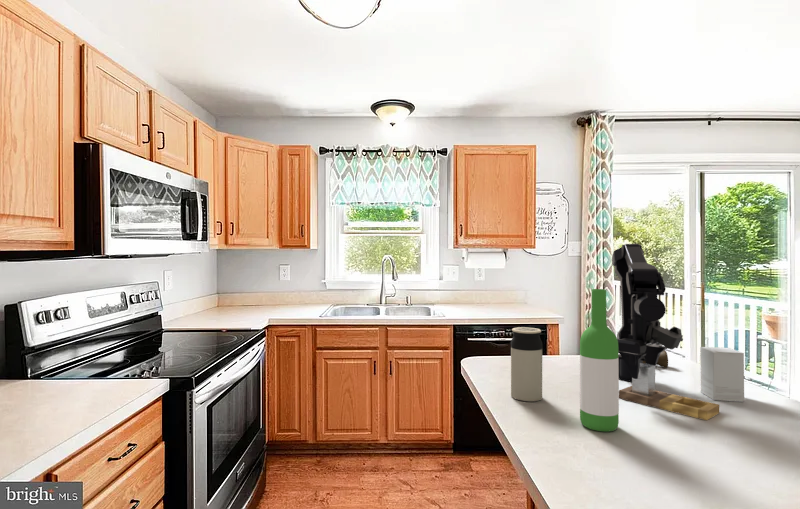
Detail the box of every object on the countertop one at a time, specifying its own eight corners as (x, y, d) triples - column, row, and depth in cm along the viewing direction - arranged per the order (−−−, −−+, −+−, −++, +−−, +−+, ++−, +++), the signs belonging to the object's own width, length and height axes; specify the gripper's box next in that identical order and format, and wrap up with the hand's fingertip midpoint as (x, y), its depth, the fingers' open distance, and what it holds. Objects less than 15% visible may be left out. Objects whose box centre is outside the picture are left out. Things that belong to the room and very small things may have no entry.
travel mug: (546, 402, 112) (546, 331, 112) (515, 402, 112) (515, 331, 113) (537, 392, 120) (537, 327, 120) (507, 392, 120) (507, 326, 120)
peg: (632, 399, 115) (632, 364, 115) (639, 396, 118) (639, 362, 118) (648, 403, 112) (648, 367, 112) (655, 400, 114) (655, 365, 114)
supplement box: (745, 402, 113) (745, 352, 113) (712, 400, 114) (712, 351, 114) (729, 393, 120) (729, 347, 120) (699, 392, 121) (699, 346, 122)
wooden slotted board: (618, 398, 116) (618, 390, 116) (633, 392, 121) (633, 385, 121) (706, 420, 100) (706, 411, 100) (719, 412, 105) (719, 404, 105)
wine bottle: (572, 425, 97) (572, 289, 97) (591, 417, 102) (591, 287, 102) (607, 436, 91) (607, 291, 91) (625, 427, 96) (625, 289, 96)
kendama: (657, 360, 162) (672, 372, 143) (628, 359, 164) (639, 370, 145) (656, 344, 162) (671, 353, 143) (627, 343, 165) (638, 352, 146)
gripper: (661, 322, 103) (661, 389, 103) (692, 316, 114) (692, 376, 114) (613, 317, 112) (613, 379, 112) (647, 312, 123) (647, 367, 123)
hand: (643, 375), depth 115 cm, fingers open, 9 cm apart
